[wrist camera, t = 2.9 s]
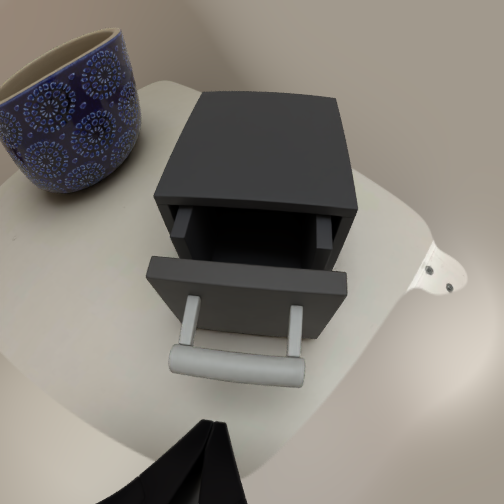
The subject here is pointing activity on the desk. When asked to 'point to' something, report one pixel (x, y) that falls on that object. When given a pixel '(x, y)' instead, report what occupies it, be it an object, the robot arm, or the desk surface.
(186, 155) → the cabinet
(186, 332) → the drawer
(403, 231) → the desk surface
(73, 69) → the planter
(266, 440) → the desk surface
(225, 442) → the robot arm
